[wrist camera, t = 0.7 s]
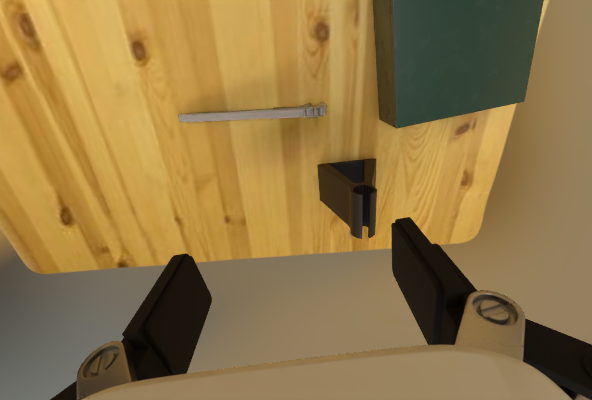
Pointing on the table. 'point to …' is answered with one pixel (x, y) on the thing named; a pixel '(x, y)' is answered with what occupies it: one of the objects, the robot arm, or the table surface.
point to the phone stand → (350, 193)
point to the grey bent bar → (257, 114)
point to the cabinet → (452, 56)
